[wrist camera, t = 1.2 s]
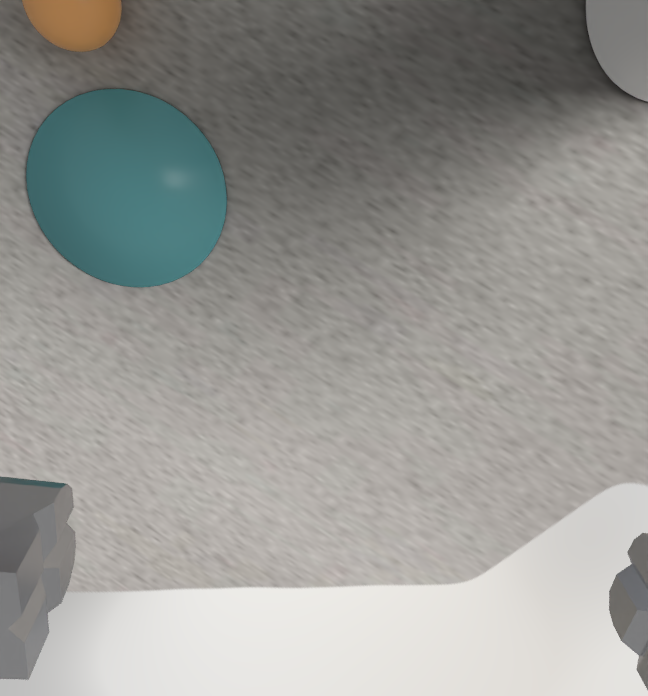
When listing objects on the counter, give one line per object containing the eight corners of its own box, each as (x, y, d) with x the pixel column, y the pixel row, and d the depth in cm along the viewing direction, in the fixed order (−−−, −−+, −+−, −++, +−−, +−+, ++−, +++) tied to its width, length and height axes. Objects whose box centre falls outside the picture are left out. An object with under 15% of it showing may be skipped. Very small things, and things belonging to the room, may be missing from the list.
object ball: (65, -70, 37) (29, -88, 32) (147, -9, 38) (124, -17, 33) (27, 14, 39) (-13, 9, 34) (106, 70, 40) (80, 73, 35)
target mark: (1, 98, 41) (-1, 98, 41) (210, 79, 41) (209, 80, 41) (57, 293, 47) (56, 294, 47) (239, 278, 47) (239, 278, 47)
